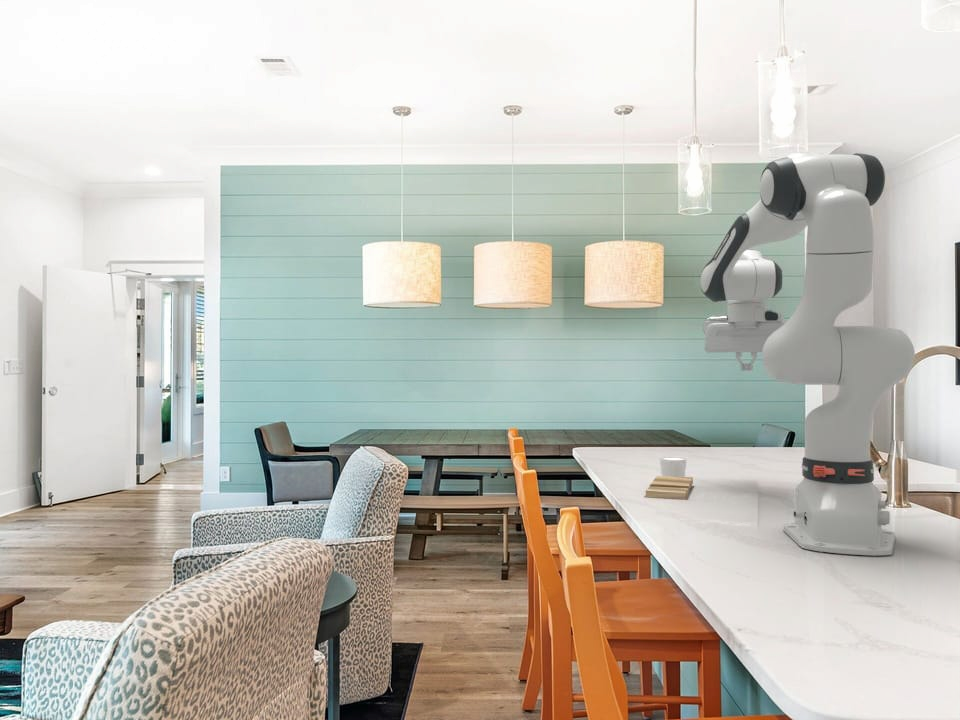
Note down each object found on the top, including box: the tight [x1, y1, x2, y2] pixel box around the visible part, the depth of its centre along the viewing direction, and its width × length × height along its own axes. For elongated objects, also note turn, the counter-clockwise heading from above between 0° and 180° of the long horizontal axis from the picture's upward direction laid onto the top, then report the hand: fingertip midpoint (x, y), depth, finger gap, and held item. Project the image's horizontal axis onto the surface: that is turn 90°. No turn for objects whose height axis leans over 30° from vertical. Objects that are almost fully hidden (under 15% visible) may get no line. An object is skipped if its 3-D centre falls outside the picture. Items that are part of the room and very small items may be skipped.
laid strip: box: [645, 484, 688, 501], centre depth 172 cm, size 7×9×2 cm
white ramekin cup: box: [659, 456, 687, 477], centre depth 193 cm, size 7×7×7 cm
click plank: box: [649, 475, 694, 494], centre depth 181 cm, size 12×9×2 cm
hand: (746, 370), depth 183 cm, fingers closed
